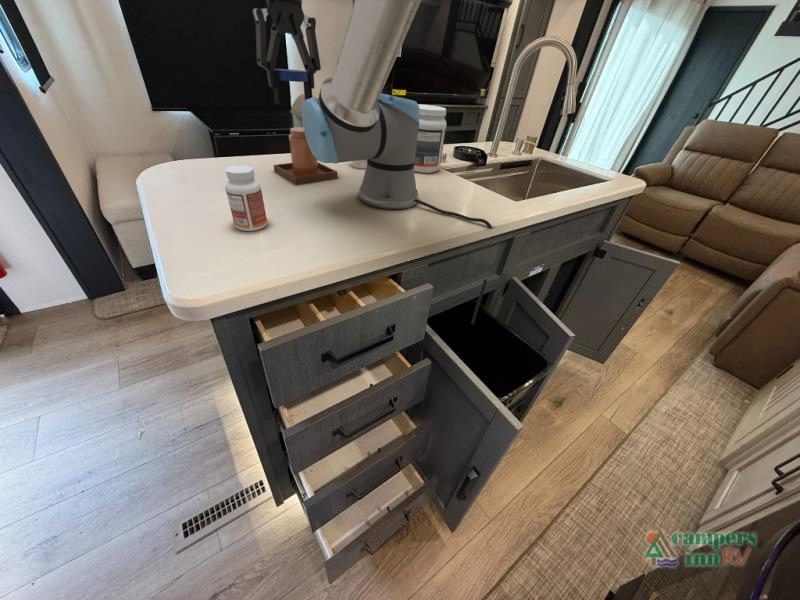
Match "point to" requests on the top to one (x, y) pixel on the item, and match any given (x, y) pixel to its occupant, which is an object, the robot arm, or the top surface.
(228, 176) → the pill bottle
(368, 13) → the robot arm
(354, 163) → the white cup
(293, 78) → the jar lid
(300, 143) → the jar
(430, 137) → the supplement tub
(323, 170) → the tray
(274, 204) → the top surface
